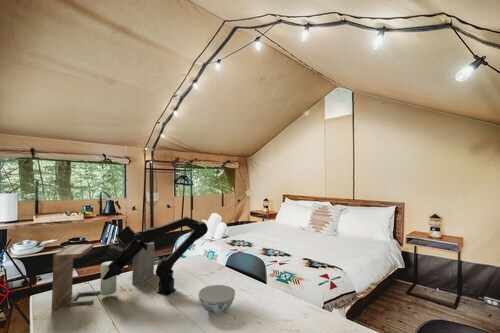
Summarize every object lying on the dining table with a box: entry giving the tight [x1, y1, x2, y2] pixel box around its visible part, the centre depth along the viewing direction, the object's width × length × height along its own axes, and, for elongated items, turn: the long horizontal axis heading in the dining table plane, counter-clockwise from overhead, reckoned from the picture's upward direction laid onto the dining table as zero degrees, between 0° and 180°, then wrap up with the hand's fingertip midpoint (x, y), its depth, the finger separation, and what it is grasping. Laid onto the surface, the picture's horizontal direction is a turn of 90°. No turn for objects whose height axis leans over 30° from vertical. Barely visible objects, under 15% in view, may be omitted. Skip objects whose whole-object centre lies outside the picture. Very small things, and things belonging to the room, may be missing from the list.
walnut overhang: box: [51, 243, 101, 311], centre depth 118 cm, size 14×16×22 cm
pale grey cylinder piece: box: [99, 260, 118, 296], centre depth 121 cm, size 6×6×13 cm
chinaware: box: [198, 284, 236, 317], centre depth 109 cm, size 15×15×8 cm
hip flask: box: [131, 241, 155, 286], centre depth 142 cm, size 16×4×20 cm, turn 166°
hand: (105, 276), depth 120 cm, fingers closed on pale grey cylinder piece, 6 cm apart
